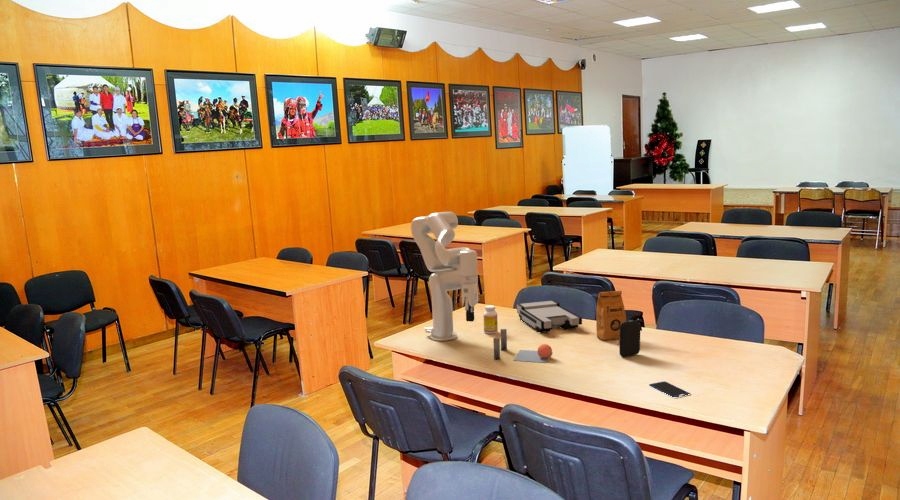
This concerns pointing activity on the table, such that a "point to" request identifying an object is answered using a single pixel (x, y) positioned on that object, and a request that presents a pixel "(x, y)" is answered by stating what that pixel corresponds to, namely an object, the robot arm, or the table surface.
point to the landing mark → (530, 357)
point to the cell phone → (669, 389)
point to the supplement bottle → (490, 320)
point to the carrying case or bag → (629, 338)
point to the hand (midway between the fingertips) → (470, 320)
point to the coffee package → (609, 315)
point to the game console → (547, 316)
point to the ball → (544, 351)
